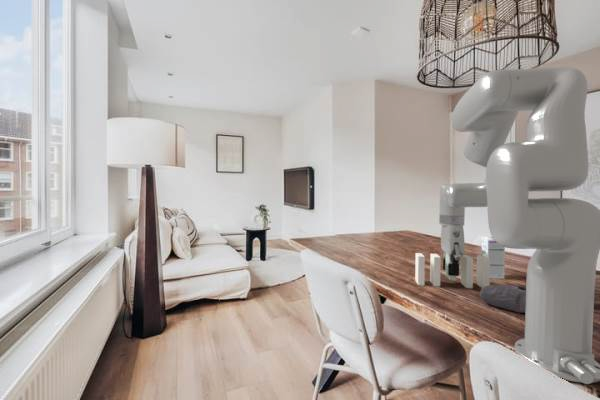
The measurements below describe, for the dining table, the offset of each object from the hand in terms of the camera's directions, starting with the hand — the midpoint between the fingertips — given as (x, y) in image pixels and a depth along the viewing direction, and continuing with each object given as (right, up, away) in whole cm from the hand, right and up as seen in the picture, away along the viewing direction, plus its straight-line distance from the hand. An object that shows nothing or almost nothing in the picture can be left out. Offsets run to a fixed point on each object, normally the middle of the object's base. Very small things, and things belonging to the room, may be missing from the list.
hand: (450, 272), depth 97 cm
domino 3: (0, -2, 0) cm, 2 cm away
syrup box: (+20, -4, +8) cm, 22 cm away
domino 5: (+10, -4, -2) cm, 11 cm away
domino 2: (-5, -4, +1) cm, 7 cm away
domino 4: (+5, -4, -1) cm, 7 cm away
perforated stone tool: (+6, -6, -19) cm, 21 cm away
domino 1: (-10, -4, +2) cm, 11 cm away
